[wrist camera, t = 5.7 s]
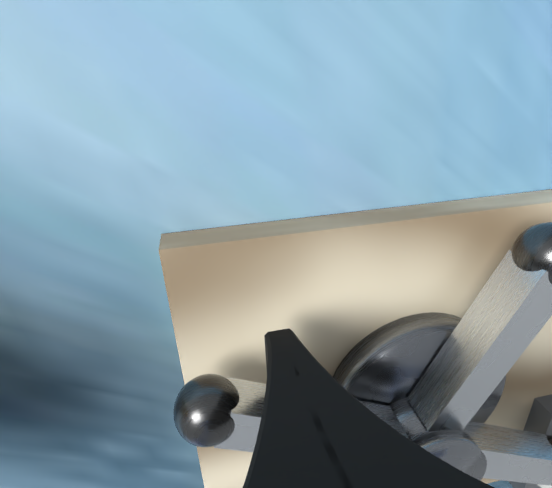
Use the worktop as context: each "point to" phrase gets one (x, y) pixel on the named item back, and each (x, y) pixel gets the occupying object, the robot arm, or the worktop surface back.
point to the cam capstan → (422, 377)
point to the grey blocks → (538, 428)
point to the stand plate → (342, 291)
